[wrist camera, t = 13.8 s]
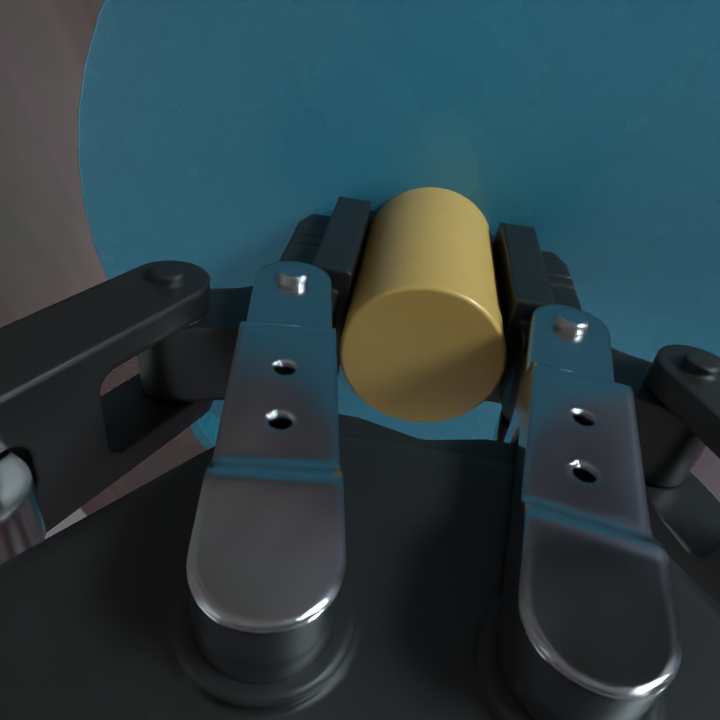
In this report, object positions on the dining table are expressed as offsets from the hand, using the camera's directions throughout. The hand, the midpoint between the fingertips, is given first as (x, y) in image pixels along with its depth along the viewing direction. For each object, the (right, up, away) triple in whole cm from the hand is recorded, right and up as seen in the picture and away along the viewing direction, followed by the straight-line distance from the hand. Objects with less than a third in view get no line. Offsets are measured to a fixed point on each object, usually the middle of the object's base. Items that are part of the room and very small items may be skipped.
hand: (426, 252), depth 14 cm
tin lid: (0, 0, 0) cm, 1 cm away
